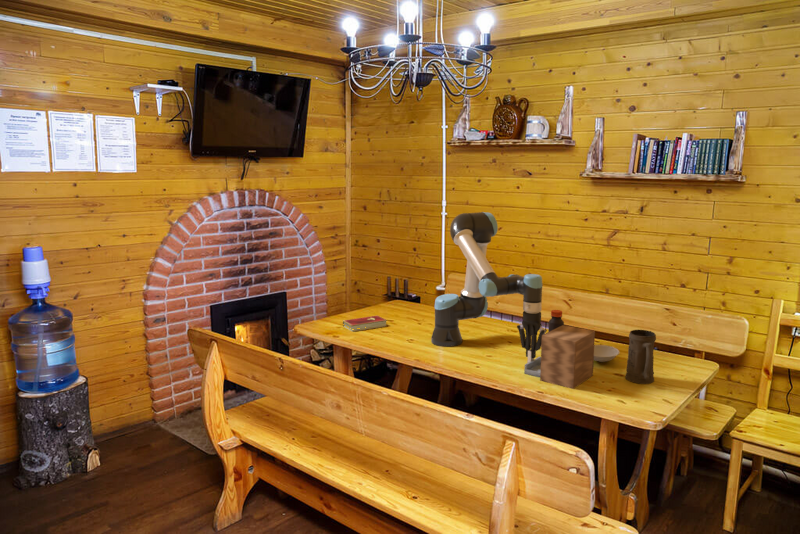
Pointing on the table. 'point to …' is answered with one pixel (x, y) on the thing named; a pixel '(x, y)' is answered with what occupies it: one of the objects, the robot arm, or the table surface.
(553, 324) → the bottle
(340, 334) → the table surface
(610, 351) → the dish
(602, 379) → the table surface
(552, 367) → the wood grain box
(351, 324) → the hardcover book
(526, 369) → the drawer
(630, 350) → the beer stein
